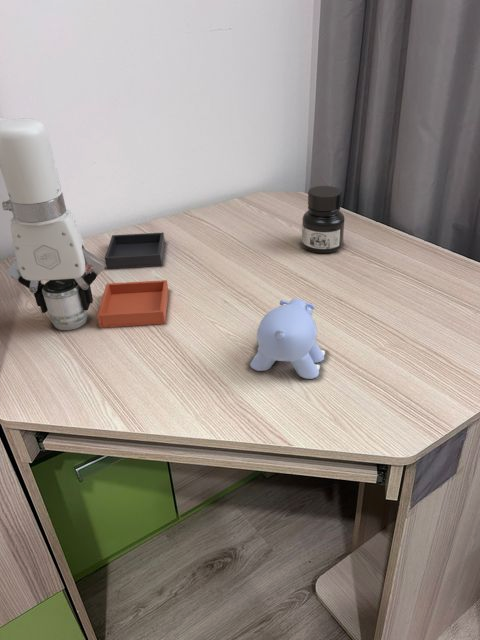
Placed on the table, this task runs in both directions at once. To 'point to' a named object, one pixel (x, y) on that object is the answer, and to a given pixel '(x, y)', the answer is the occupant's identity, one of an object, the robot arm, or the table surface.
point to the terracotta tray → (133, 304)
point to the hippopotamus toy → (289, 339)
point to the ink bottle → (323, 220)
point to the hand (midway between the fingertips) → (66, 306)
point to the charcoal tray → (135, 250)
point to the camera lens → (64, 304)
